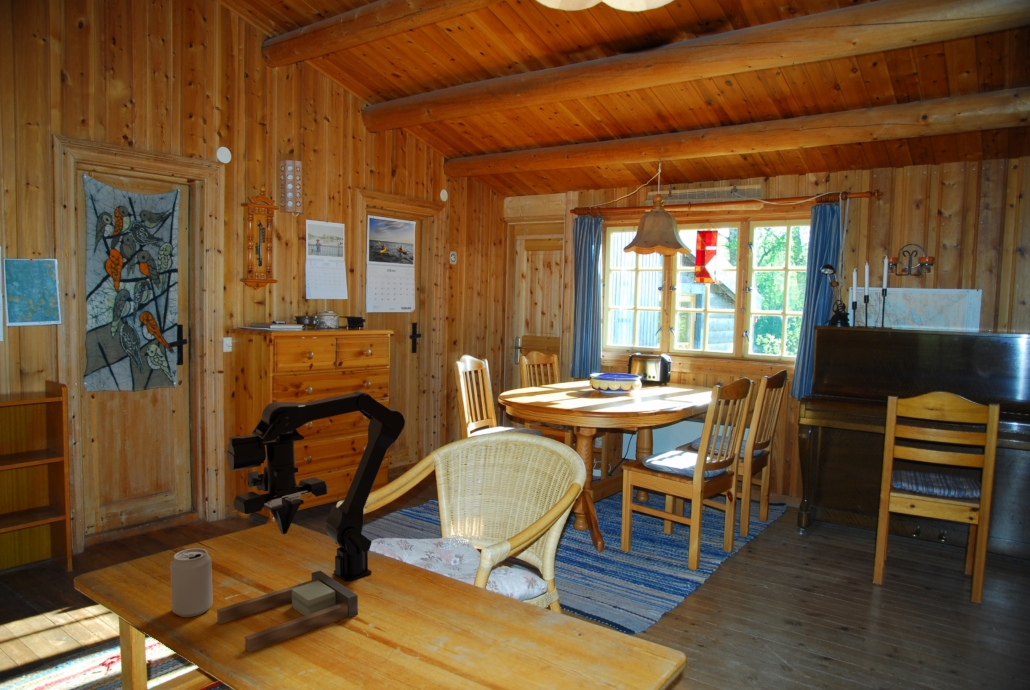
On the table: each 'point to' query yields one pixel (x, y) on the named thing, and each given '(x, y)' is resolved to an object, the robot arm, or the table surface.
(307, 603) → the block
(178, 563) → the can
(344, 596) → the bay
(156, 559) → the table surface
